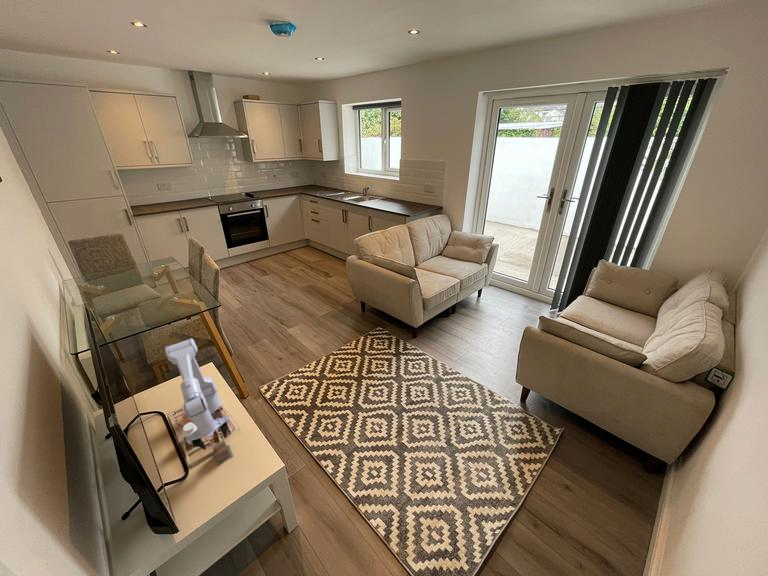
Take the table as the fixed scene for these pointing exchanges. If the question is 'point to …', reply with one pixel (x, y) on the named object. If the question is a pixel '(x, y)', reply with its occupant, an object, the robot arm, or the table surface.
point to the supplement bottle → (189, 429)
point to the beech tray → (199, 458)
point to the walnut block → (221, 451)
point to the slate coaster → (226, 458)
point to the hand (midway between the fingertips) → (215, 441)
